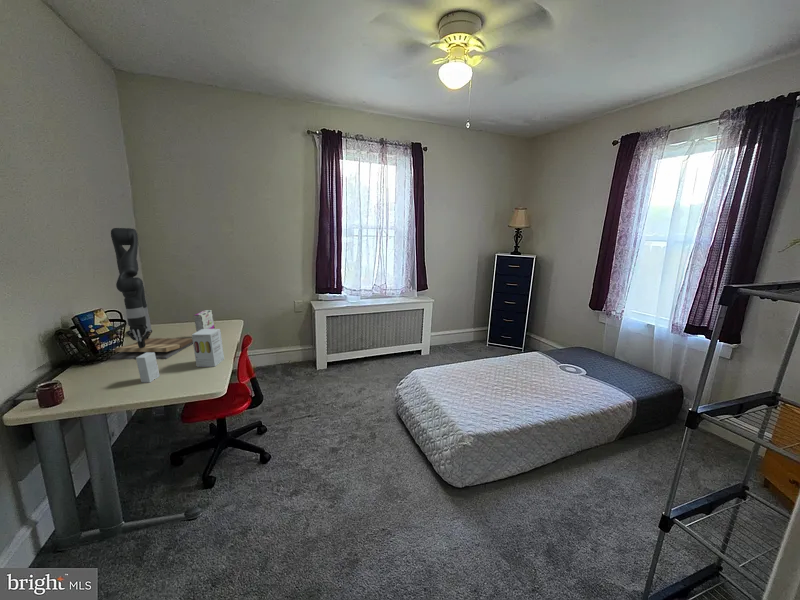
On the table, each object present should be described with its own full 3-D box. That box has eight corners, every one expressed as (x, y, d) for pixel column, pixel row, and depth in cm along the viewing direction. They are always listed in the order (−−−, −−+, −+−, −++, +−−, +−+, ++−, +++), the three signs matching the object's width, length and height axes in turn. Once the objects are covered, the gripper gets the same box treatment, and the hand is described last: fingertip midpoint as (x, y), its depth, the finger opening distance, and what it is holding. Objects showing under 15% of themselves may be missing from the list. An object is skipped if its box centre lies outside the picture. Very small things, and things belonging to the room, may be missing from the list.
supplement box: (195, 367, 161) (190, 334, 158) (206, 359, 170) (201, 328, 167) (215, 366, 162) (210, 334, 158) (225, 359, 171) (220, 328, 167)
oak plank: (115, 351, 175) (114, 348, 175) (131, 348, 185) (131, 344, 185) (166, 351, 174) (166, 348, 173) (179, 348, 184) (179, 344, 183)
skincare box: (151, 376, 152) (146, 352, 149) (160, 376, 152) (155, 352, 149) (140, 382, 146) (135, 357, 144) (149, 382, 146) (144, 357, 143)
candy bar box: (208, 335, 208) (204, 309, 205) (216, 335, 208) (212, 309, 205) (197, 341, 198) (193, 314, 194) (205, 341, 197) (201, 314, 194)
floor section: (110, 358, 173) (109, 353, 172) (146, 342, 196) (145, 337, 196) (166, 358, 172) (165, 353, 171) (195, 342, 195) (194, 337, 195)
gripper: (154, 314, 175) (159, 345, 178) (129, 314, 175) (136, 345, 179) (142, 317, 167) (148, 350, 171) (117, 318, 168) (124, 350, 172)
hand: (142, 347), depth 175 cm, fingers closed
